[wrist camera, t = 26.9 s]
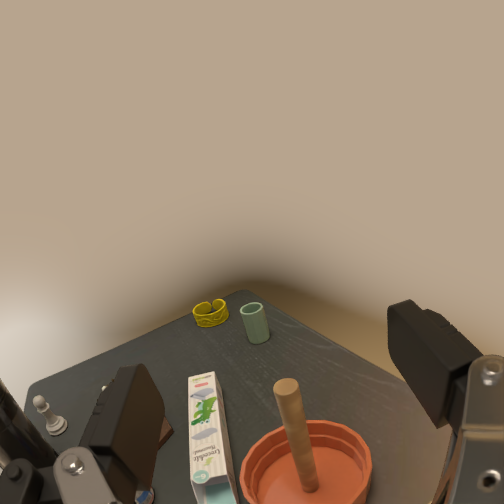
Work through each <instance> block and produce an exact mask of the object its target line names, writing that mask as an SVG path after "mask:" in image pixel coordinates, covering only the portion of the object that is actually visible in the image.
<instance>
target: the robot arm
mask: <svg viewBox="0 0 504 504" xmlns="http://www.w3.org/2000/svg"><path fill="white" fill-rule="evenodd" d="M387 320H388V349H389V353H390V357H391V359H392V361H393V363H394V364H395V366H396V367H397V369H398V370H399V372H400V373H401V375H402V376H403V378H404V379H405V381H406V382H407V384H408V385H409V387H410V388H411V390H412V391H413V393H414V394H415V396H416V397H417V399H418V400H419V402H420V403H421V405H422V406H423V408H424V409H425V411H426V413H427V414H428V416H429V417H430V419H431V420H432V422H433V423H434V425H435V427H436V428H437V429H438V428H440V427H442V426H444V425H446V424H448V423H449V424H450V426H451V427H452V429H453V430H452V433H451V437H450V442H449V446H448V451H447V455H446V459H445V463H444V467H443V471H442V474H441V478H440V481H439V485H438V488H437V490H436V493H435V496H434V498H433V501H432V503H431V504H504V357H502V356H499V355H485V356H484V355H483V354H482V353H481V352H480V351H479V350H478V349H477V348H476V347H475V346H474V345H473V344H472V343H471V342H470V341H469V340H467V338H465V337H464V336H463V335H462V334H461V333H460V332H458V331H457V329H456V328H455V327H454V326H453V325H450V322H448V321H447V320H446V319H445V318H444V317H443V316H442V315H441V314H439V313H436V312H434V311H432V310H429V309H426V310H422V309H421V308H420V307H418V305H416V304H415V303H414V302H413V301H412V300H410V299H409V300H406V301H403V302H400V303H397V304H394V305H391V306H389V307H388V310H387ZM96 405H97V406H95V408H94V410H93V412H92V414H93V415H91V417H90V419H89V422H88V424H87V426H86V429H85V431H84V434H83V436H82V438H81V441H80V443H79V446H78V447H73V448H70V449H67V450H66V451H64V452H63V453H61V454H60V455H58V454H57V453H56V452H55V451H54V449H53V448H52V447H51V446H50V445H49V444H48V442H47V441H46V440H45V439H44V438H43V436H42V435H41V434H40V433H39V432H38V430H37V429H36V428H35V427H34V425H33V424H32V423H31V421H30V420H29V419H28V418H27V416H26V415H25V414H24V412H23V411H22V410H21V408H20V407H19V405H18V404H17V403H16V401H15V400H14V398H13V397H12V396H11V394H10V393H9V391H8V390H7V388H6V387H5V385H4V384H3V382H2V380H1V379H0V467H1V468H2V469H3V471H2V473H1V475H0V504H140V503H139V502H138V501H137V500H136V499H135V496H136V491H150V489H151V483H152V478H153V472H154V466H155V461H156V455H157V450H158V445H159V439H160V434H161V429H162V424H163V419H164V414H165V408H164V402H163V399H162V397H161V395H160V393H159V391H158V389H157V387H156V386H155V384H154V382H153V380H152V378H151V376H150V374H149V372H148V370H147V368H146V367H145V366H144V365H143V364H135V365H128V366H122V367H120V368H119V370H118V373H117V375H116V377H115V380H114V382H110V383H109V385H108V386H107V387H106V388H105V389H104V390H103V391H102V392H101V394H100V396H99V398H98V401H97V403H96Z"/></svg>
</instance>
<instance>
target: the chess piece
mask: <svg viewBox="0 0 504 504" xmlns="http://www.w3.org/2000/svg"><path fill="white" fill-rule="evenodd" d="M33 404H34V406H35V407H36V408H38V412H39V413H42V414H43V415H44V417H45V418H46V420H47V425H46V428H47V430H48V432H49V434H51V435H54V436H56V435H60V434H62V433H63V432H64V431H65V430H66V428H67V421H66V420H65V419H64V418H63V417H62V416H55V415H54V414H53V413H52V412H51V410H50V409H49V404H48V403H45V399H44V398H43V397H42V396H36V397H35V398H34V399H33Z"/></svg>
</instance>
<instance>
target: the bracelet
mask: <svg viewBox="0 0 504 504" xmlns="http://www.w3.org/2000/svg"><path fill="white" fill-rule="evenodd" d="M212 307H213V308H214V309H215V310H218V311H216V312H214V313H211V314H207V313H209V312H210V311H211V310H212ZM193 314H194V317H195V320H196V322H197V324H198V326H201V327H212V326H216V325H219V324H221V323H223V322H224V321H225V320H226V319H227V318H228V316H229V313H228V310H227V306H226V303H225V301H223V300H221V299H216V300H214V301H213V303H212V306H211V304H210V303H208V302H203V303H200V304H198V305H197V306H195V307H194V309H193ZM205 314H206V315H205Z"/></svg>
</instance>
